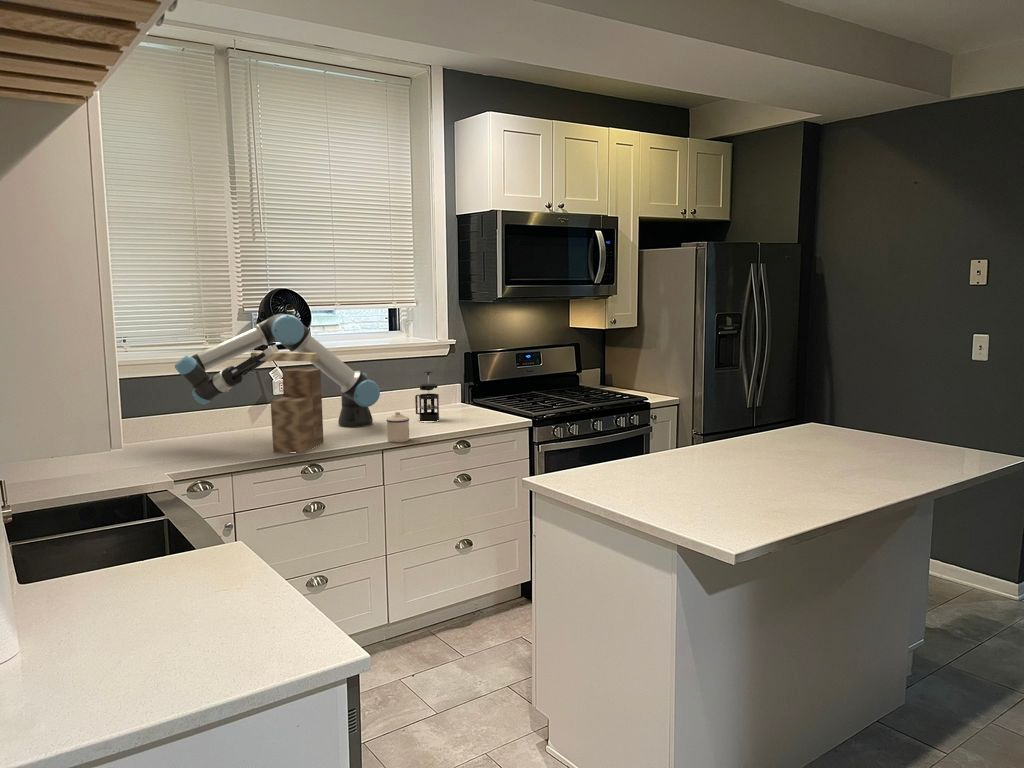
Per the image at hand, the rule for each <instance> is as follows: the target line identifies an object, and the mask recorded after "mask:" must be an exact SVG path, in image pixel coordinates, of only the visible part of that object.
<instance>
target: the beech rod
mask: <svg viewBox="0 0 1024 768" xmlns="http://www.w3.org/2000/svg"><path fill="white" fill-rule="evenodd" d="M261 352H262V351H252V352H250V357H254V356H257V355H258V354H259V353H261ZM259 361H260V360H259ZM262 361H266V362H270V361H271V362H309V363H311V362H315V361H318V357H317V353H298V352H291V351H289V352H286V351H285V352H284V351H281V352H280V351H279V352H274V353H273V354H272V355H270V356H269V357H267V358H265V359H264V360H262Z"/></svg>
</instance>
